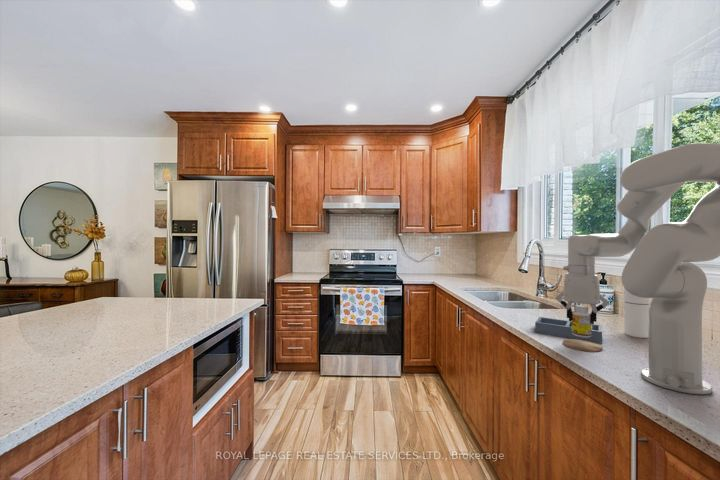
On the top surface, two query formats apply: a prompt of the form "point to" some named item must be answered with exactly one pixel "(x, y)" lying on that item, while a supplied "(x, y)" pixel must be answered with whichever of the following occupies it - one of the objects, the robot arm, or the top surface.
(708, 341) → the top surface
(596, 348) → the cork trivet
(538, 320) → the parts caddy
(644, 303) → the cylindrical container
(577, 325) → the supplement bottle
